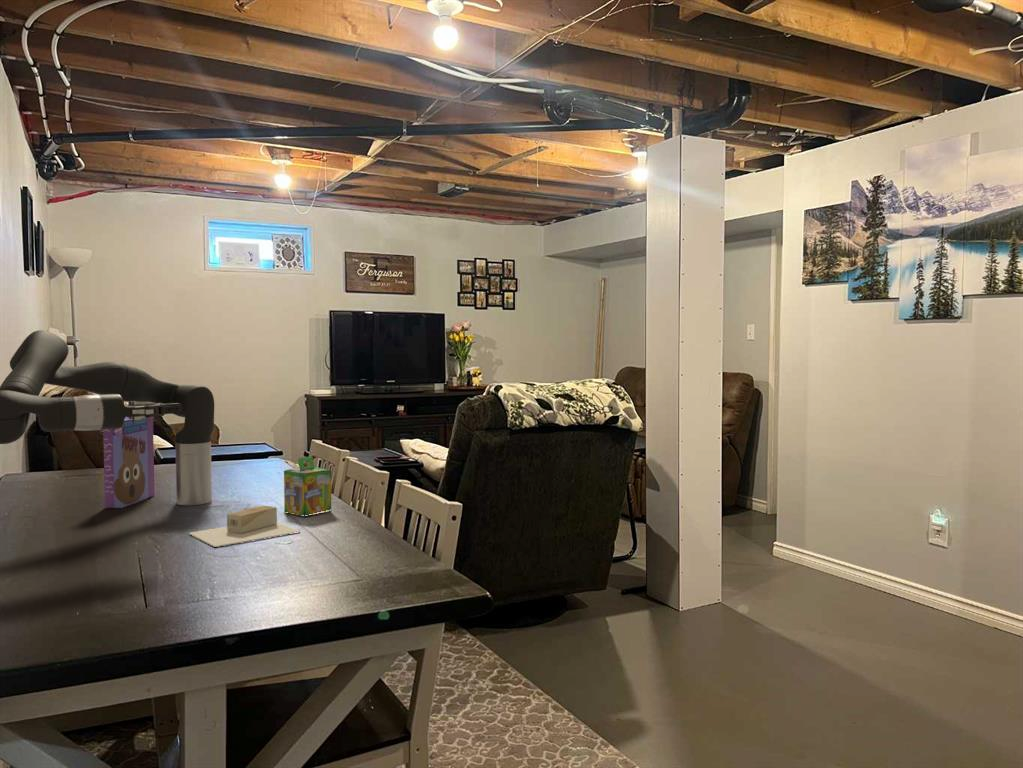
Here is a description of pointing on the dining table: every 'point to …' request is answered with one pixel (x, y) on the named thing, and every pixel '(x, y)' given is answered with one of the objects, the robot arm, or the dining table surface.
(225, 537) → the mat
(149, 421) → the cereal box
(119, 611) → the dining table surface
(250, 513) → the box
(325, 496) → the chalk box
